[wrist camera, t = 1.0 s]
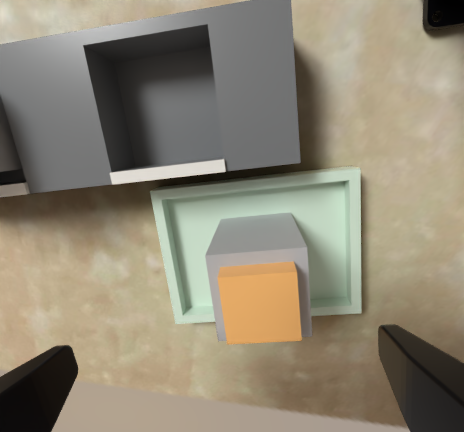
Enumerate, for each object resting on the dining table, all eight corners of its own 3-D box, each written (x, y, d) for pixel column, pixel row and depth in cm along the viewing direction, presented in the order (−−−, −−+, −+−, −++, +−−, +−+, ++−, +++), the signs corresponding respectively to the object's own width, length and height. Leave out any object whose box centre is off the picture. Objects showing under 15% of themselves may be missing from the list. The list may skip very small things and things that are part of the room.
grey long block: (281, 29, 16) (291, -10, 12) (290, 157, 17) (301, 163, 13) (-69, 86, 18) (-163, 71, 14) (-31, 194, 20) (-104, 209, 16)
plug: (290, 212, 18) (311, 256, 11) (294, 276, 19) (316, 352, 12) (220, 218, 18) (200, 265, 12) (229, 280, 19) (215, 356, 13)
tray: (351, 165, 17) (360, 168, 16) (353, 300, 20) (361, 313, 18) (158, 187, 19) (150, 191, 17) (181, 311, 21) (175, 323, 19)
